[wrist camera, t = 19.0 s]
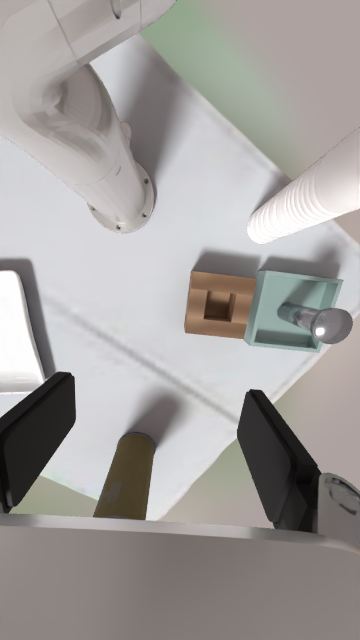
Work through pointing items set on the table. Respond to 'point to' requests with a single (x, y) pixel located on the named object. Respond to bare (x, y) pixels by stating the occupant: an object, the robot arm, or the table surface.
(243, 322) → the block
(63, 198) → the table surface
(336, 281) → the tray
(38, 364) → the square plate
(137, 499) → the canister
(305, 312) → the steel pin
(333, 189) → the water bottle
